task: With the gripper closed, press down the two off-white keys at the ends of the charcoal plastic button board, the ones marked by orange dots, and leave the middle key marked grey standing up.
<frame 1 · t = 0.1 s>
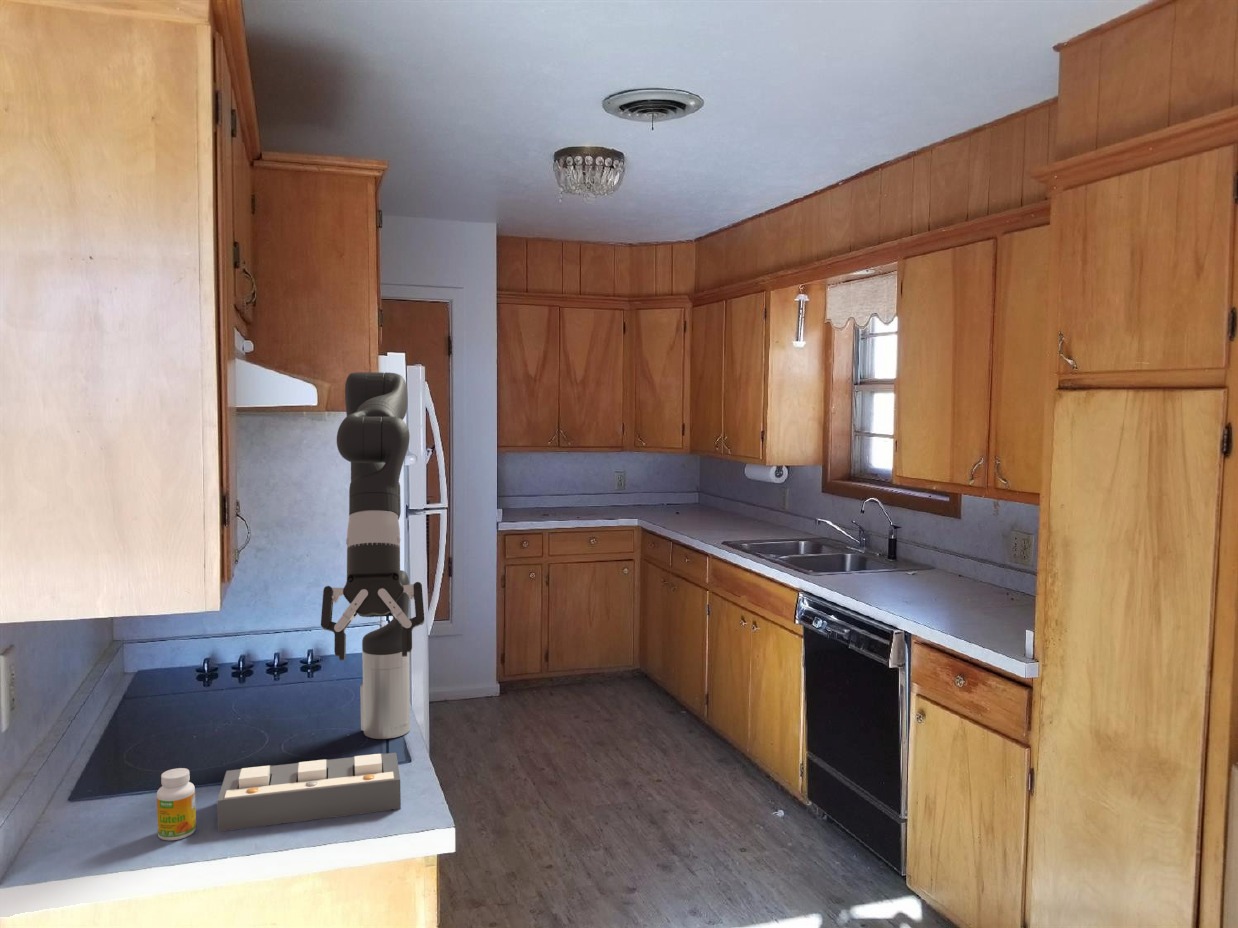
hand: (373, 658, 128), 31 cm above the worktop, tool tilted 20°, fingers open, 8 cm apart
near key: (254, 780, 149), point 5 cm above the worktop, slide at 0.0 cm
button board: (313, 804, 152), on the worktop
far key: (368, 767, 155), point 5 cm above the worktop, slide at 0.0 cm
middle key: (312, 774, 152), point 5 cm above the worktop, slide at 0.0 cm
supplement bottle: (177, 834, 142), on the worktop
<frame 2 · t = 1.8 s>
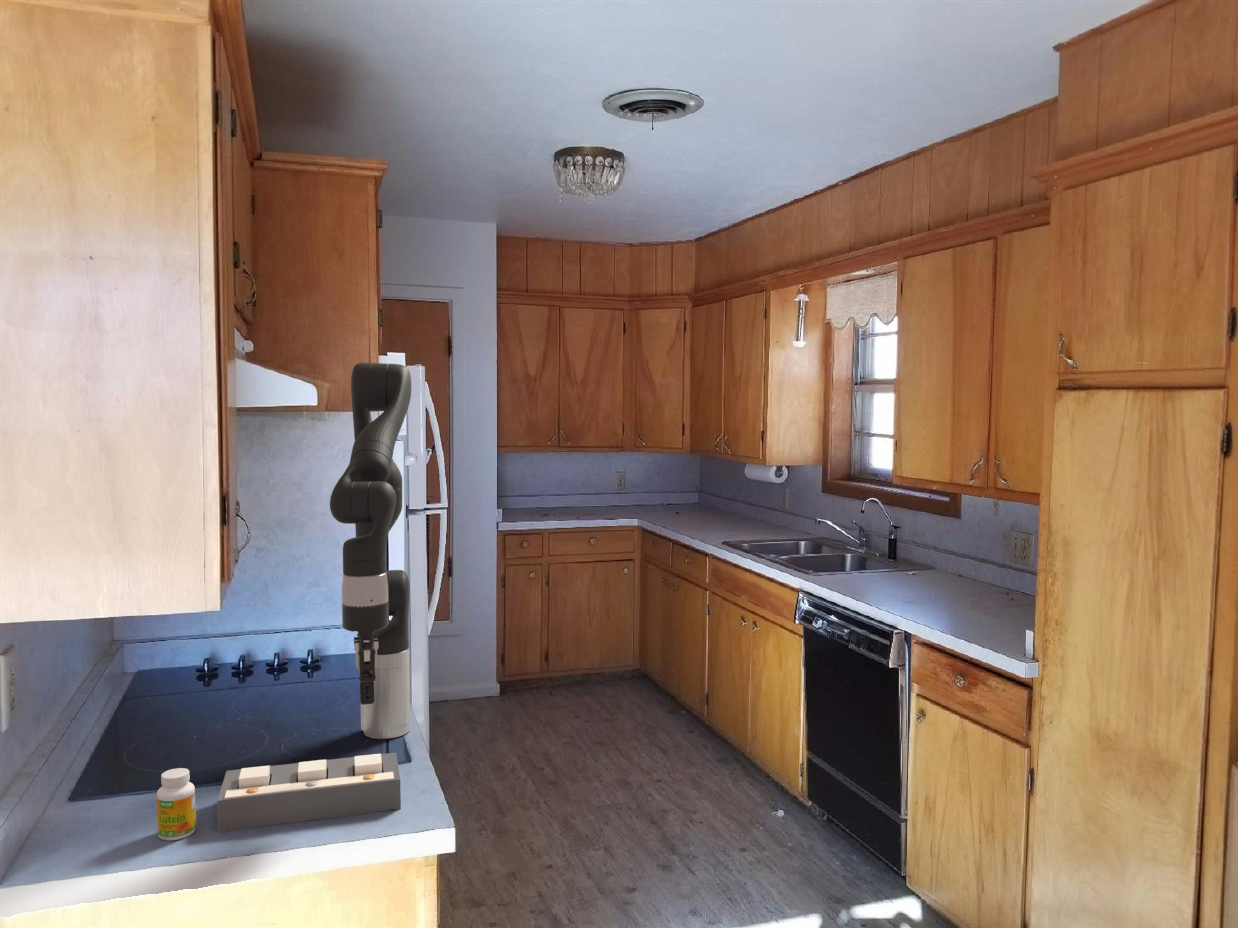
hand: (367, 698, 154), 17 cm above the worktop, tool pointing down, fingers open, 4 cm apart
nothing on the worktop moved.
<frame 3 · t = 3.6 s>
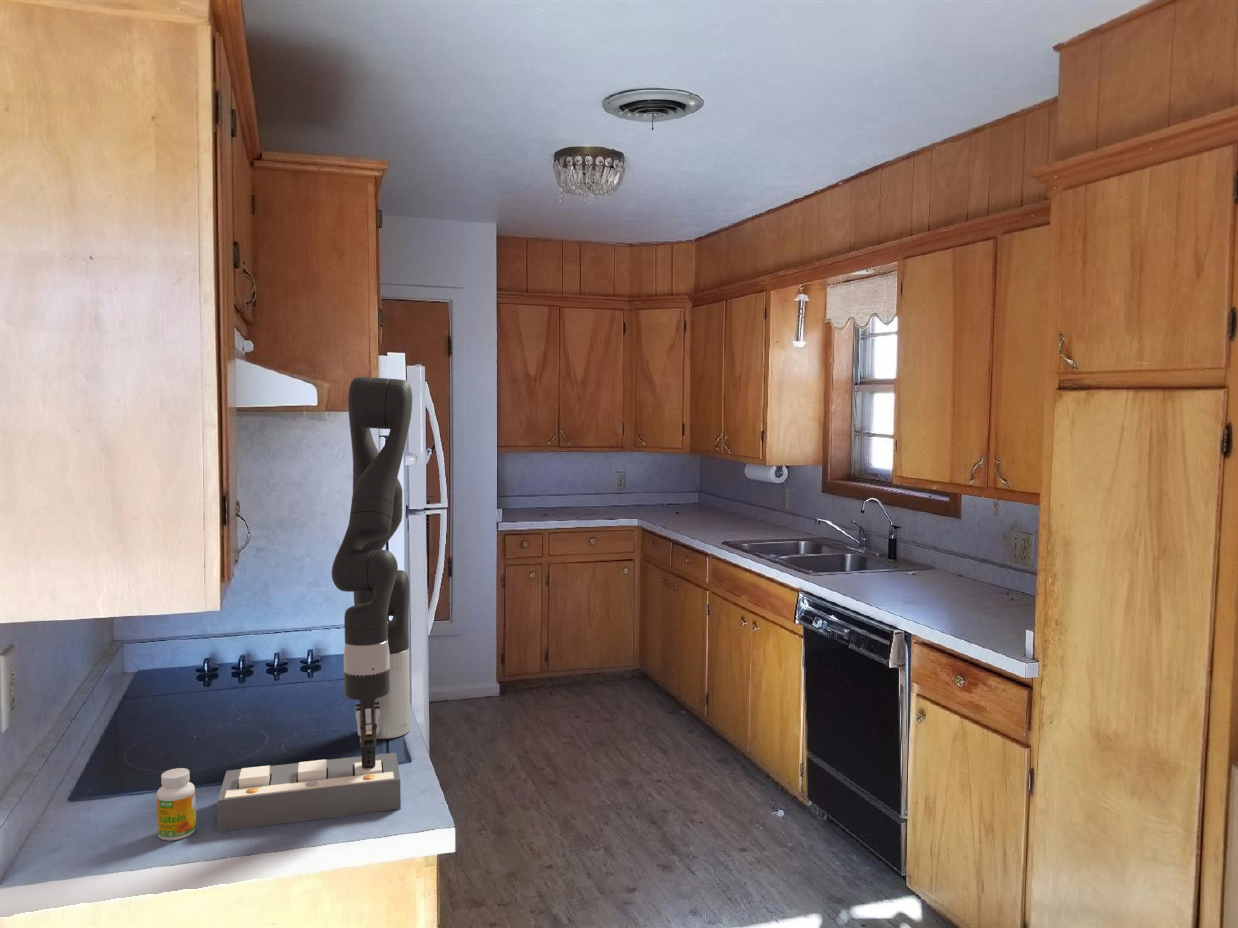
hand: (368, 766, 155), 5 cm above the worktop, tool pointing down, fingers closed
far key: (368, 774, 155), point 4 cm above the worktop, slide at 1.2 cm, touching gripper
everything else where it was.
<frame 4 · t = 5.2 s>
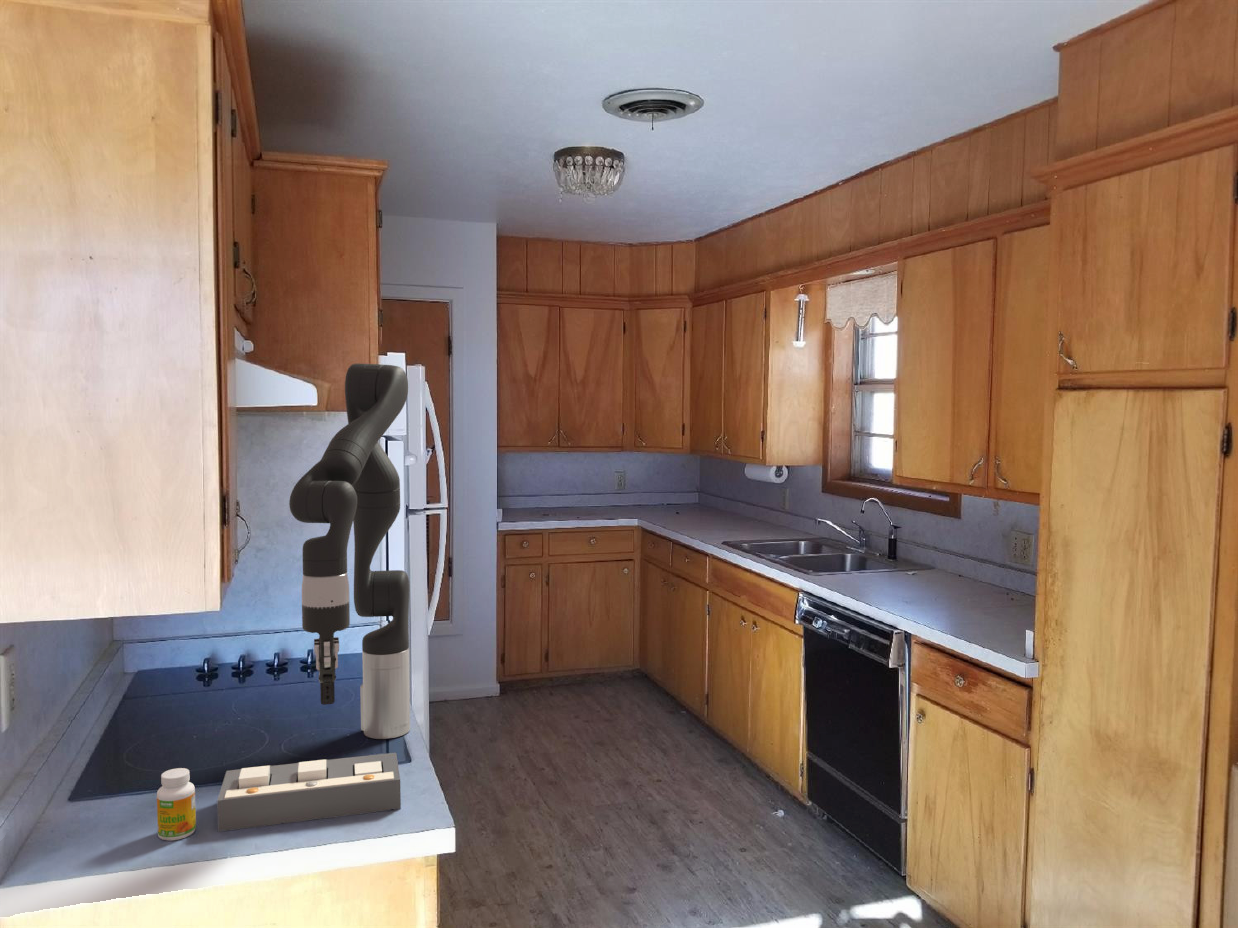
hand: (327, 702, 151), 17 cm above the worktop, tool pointing down, fingers closed
far key: (368, 775, 155), point 4 cm above the worktop, slide at 1.3 cm
everything else where it was.
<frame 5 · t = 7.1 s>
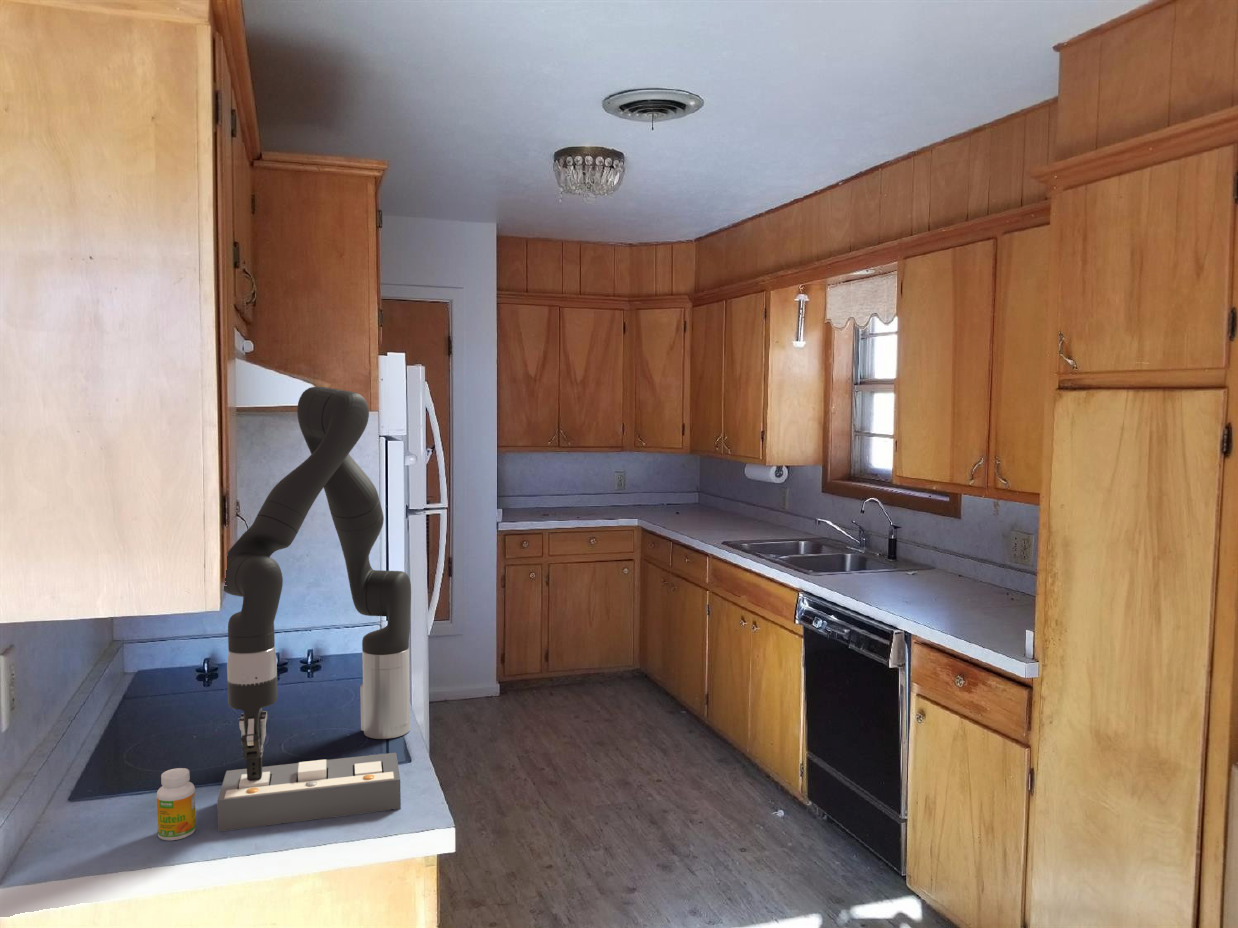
hand: (254, 778, 149), 6 cm above the worktop, tool pointing down, fingers closed
near key: (254, 786, 149), point 4 cm above the worktop, slide at 1.1 cm, touching gripper
everything else where it was.
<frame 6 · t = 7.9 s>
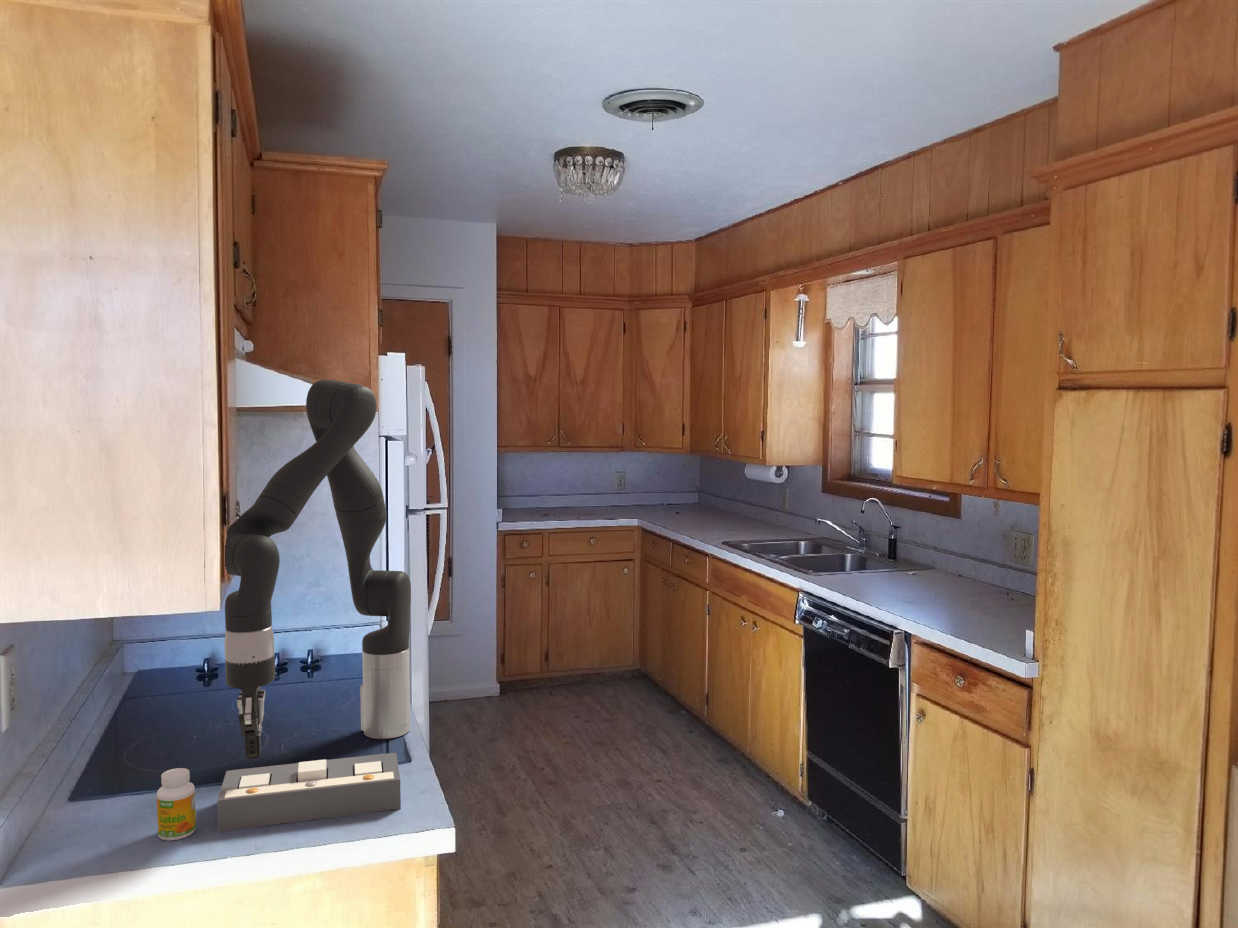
hand: (253, 756, 149), 9 cm above the worktop, tool pointing down, fingers closed
near key: (254, 788, 149), point 4 cm above the worktop, slide at 1.3 cm
everything else where it was.
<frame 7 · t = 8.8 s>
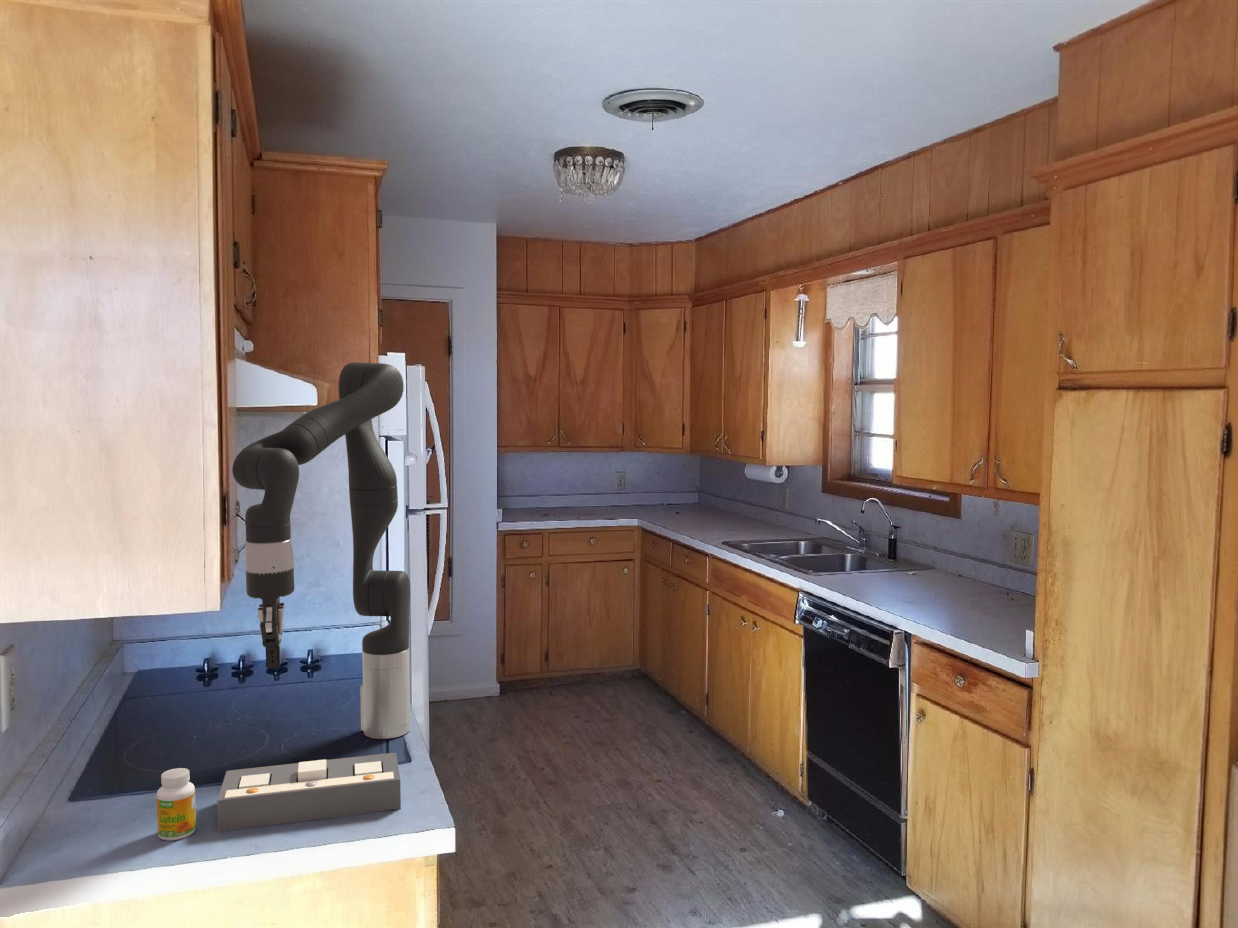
hand: (273, 666, 153), 23 cm above the worktop, tool pointing down, fingers closed
nothing on the worktop moved.
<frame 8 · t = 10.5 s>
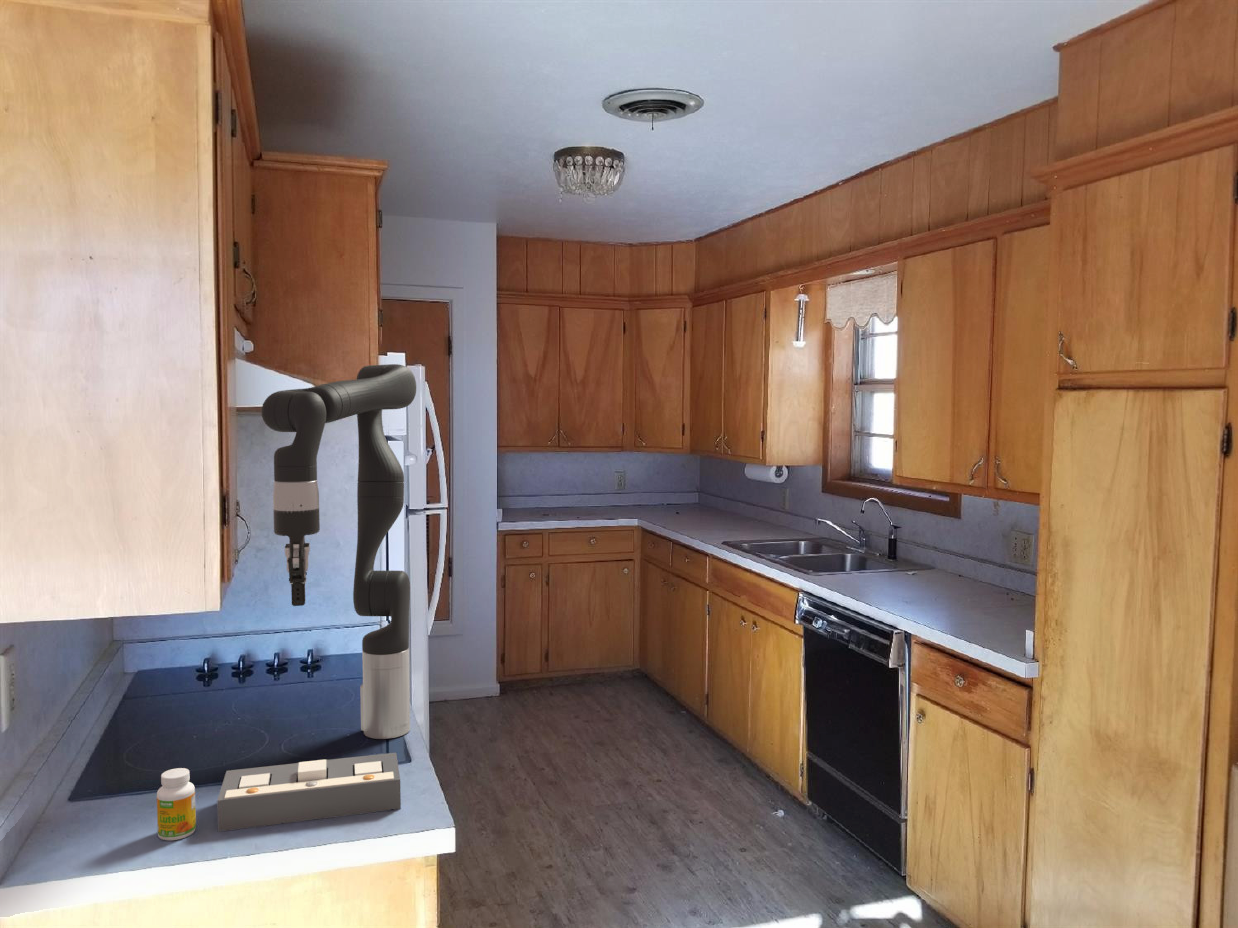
hand: (298, 604, 159), 32 cm above the worktop, tool pointing down, fingers closed
nothing on the worktop moved.
at the end: far key slide at 1.3 cm; near key slide at 1.3 cm; middle key slide at 0.0 cm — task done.
